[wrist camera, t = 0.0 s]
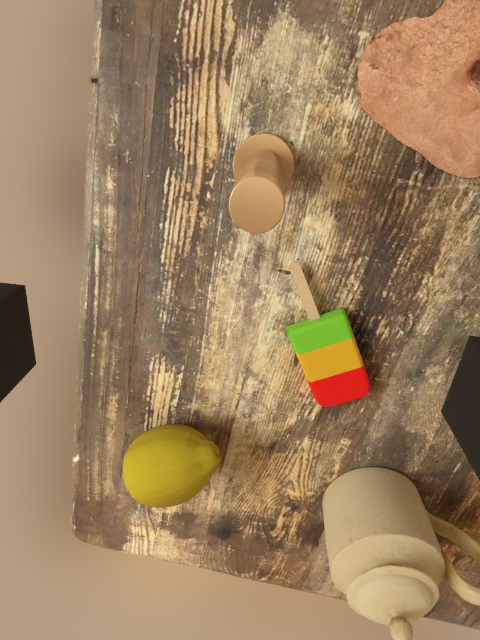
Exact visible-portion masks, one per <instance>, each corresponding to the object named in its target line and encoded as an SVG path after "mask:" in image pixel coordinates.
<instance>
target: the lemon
mask: <svg viewBox="0 0 480 640" xmlns="http://www.w3.org/2000/svg"><path fill="white" fill-rule="evenodd" d="M220 460H221V458H220V455H219V449H218V446H217V445H216V444H214V443H213V442H212V441H209V440H207V439H206V437H205V436H204V435H203V434H202V433H200V432H199V431H197V430H196V429H194V428H192V427H189V426H186V425H180V424H168V425H162V426H158V427H155V428H152V429H150V430H148V431H146V432H144V433H143V434H141V435H140V436H138V437H137V438H136V439H135V440H134V441H133V442H132V444H131V445H130V447H129V449H128V451H127V453H126V455H125V457H124V462H123V474H122V477H123V480H124V481H125V484H126V487H127V489H128V491H129V492H130V494H131V496H132V497H133V498H134V499H136V500H137V501H138V502H140V503H141V504H144V505H147V506H151V507H170V506H175V505H178V504H181V503H184V502H186V501H188V500H190V499H191V498H193V497H194V496H195V495H197V494H198V493H199V492H200V491H201V490H202V489H203V487H204V486H205V485H206V484H207V483H208V481H209V480H210V478H211V476H212V473H213V472H214V470H215V469H216V468H217V466H218V464H219V463H220Z"/></svg>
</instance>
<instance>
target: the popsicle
mask: <svg viewBox="0 0 480 640" xmlns="http://www.w3.org/2000/svg"><path fill="white" fill-rule="evenodd" d="M289 269H290V272H291V274H292V277H293V279H294V282H295V284H296V287H297V290H298V292H299V295H300V297H301V300H302V302H303V305H304V308H305V310H306V313H307V315H308V318H309V319H306V320H304V321H301V322H298V323H295V324H292V325H289V326H286V331H287V333H288V336H289V338H290V341H291V343H292V345H293V348H294V350H295V353H296V355H297V357H298V360H299V362H300V364H301V367H302V369H303V372H304V374H305V376H306V379H307V381H308V384H309V386H310V388H311V391H312V393H313V395H314V398H315V400H316V401H317V402H318V403H319V404H320V405H321V406H324V407H330V406H335V405H338V404H342V403H345V402H349V401H352V400H356V399H359V398H362V397H364V396H366V395H367V394H368V393H369V391H370V381H369V377H368V375H367V372H366V369H365V366H364V363H363V360H362V357H361V355H360V352H359V349H358V346H357V343H356V340H355V337H354V334H353V332H352V329H351V326H350V323H349V320H348V317H347V314H346V312H345V310H344V309H343V308H339V309H336V310H333V311H330V312H327V313H324V314H321V315H319V313H318V310H317V308H316V305H315V302H314V300H313V297H312V294H311V292H310V289H309V286H308V284H307V281H306V278H305V276H304V273H303V270H302V268H301V265H300V263H299V262H293V263H291V264H290V265H289Z"/></svg>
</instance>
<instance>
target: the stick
mask: <svg viewBox="0 0 480 640" xmlns="http://www.w3.org/2000/svg"><path fill="white" fill-rule="evenodd" d="M293 172H294V159H293V155H292V152H291V150H290V148H289V147H288V145H287V144H286V143H285V142H284V141H283V140H282V139H281V138H279V137H277V136H275V135H273V134H268V133H260V134H255V135H253V136H251V137H249V138H247V139H246V140H245V141H244V142H243V143H242V144H241V145H240V146H239V147H238V149H237V151H236V153H235V155H234V159H233V174H234V178H235V180H236V184H235V186H234V188H233V190H232V192H231V194H230V198H229V212H230V215H231V218H232V219H233V221H234V222H235V224H236V225H237V226H238V227H240V228H241V229H243V230H244V231H247V232H250V233H264V232H267V231H269V230H271V229H272V228H274V227H275V226H276V225H277V224H278V223H279V222H280V220H281V219H282V216H283V214H284V210H285V198H284V191H283V190H284V189H285V188H286V187H287V186H288V184H289V183H290V181H291V179H292V176H293Z"/></svg>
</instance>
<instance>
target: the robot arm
mask: <svg viewBox="0 0 480 640" xmlns="http://www.w3.org/2000/svg"><path fill="white" fill-rule="evenodd" d="M35 365H36V360H35V353H34V346H33V338H32V331H31V324H30V317H29V310H28V303H27V296H26V289H25V286H24V285H16V284H7V283H0V402H1V401H2V400H3V399H4V398H5V397H6V396H7V395H8V393H10V391H11V390H12V389H13V388H14V387H15V386H16V385H17V384H18V383H19V382H20V381H21V380H22V379H23V378H24V376H25V375H26V374H27V373H28V372H29V371H30V370H31V369H32V368H33V367H34V366H35ZM441 412H442V414H443V416H444V418H445V419H446V421H447V423H448V425H449V427H450V428H451V430H452V432H453V434H454V435H455V437H456V439H457V441H458V443H459V444H460V446H461V448H462V450H463V451H464V453H465V455H466V457H467V459H468V460H469V462H470V464H471V466H472V468H473V469H474V471H475V473H476V475H477V476H478V478H479V480H480V337H475V336H470V337H469V339H468V342H467V344H466V347H465V350H464V352H463V355H462V358H461V360H460V363H459V366H458V368H457V371H456V373H455V376H454V379H453V381H452V384H451V387H450V389H449V392H448V395H447V397H446V400H445V402H444V405H443V408H442V410H441Z"/></svg>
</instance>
